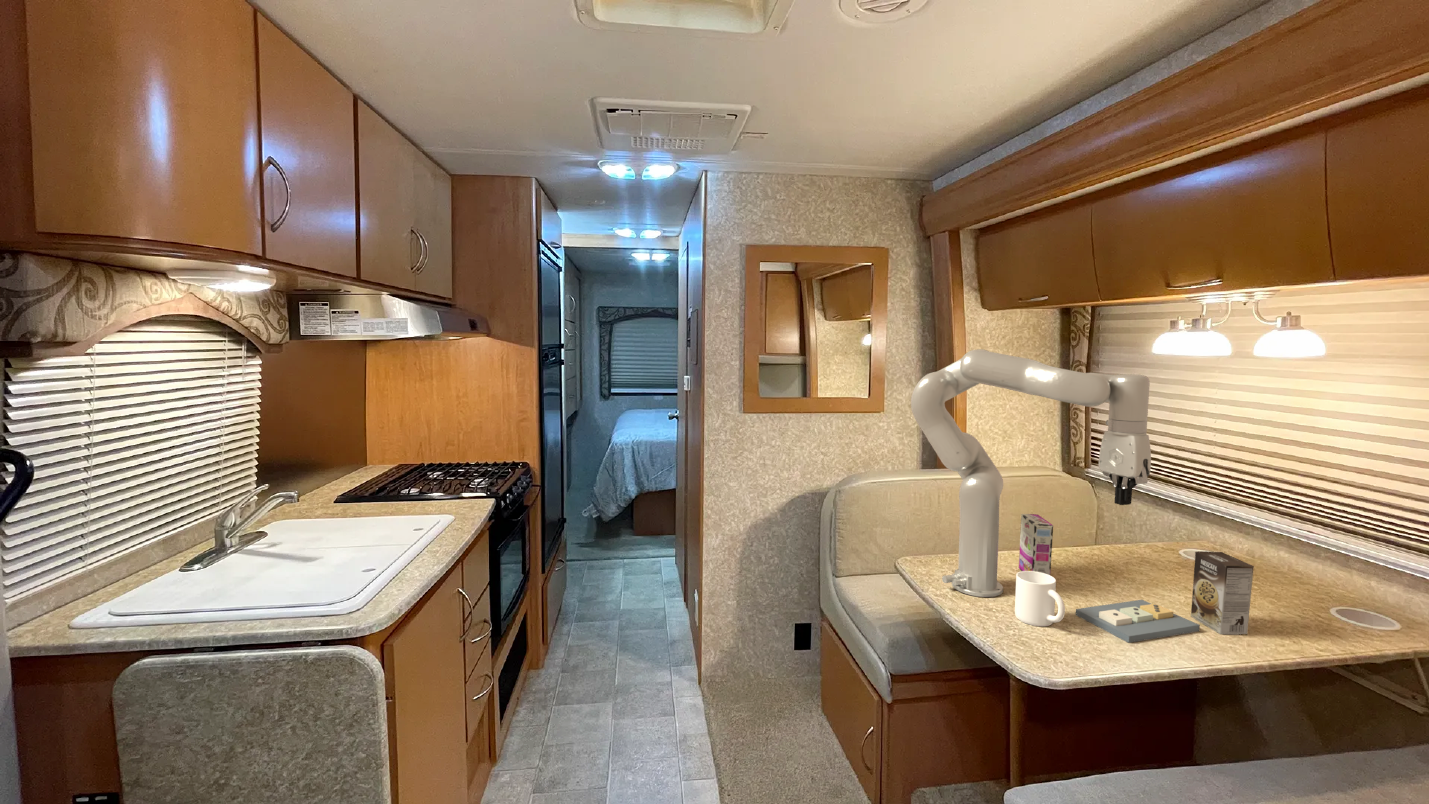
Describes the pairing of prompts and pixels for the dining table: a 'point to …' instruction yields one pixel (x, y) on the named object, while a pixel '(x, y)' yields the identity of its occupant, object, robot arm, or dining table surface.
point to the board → (1141, 629)
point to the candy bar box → (1035, 544)
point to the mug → (1037, 599)
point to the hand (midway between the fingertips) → (1122, 503)
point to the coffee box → (1221, 592)
